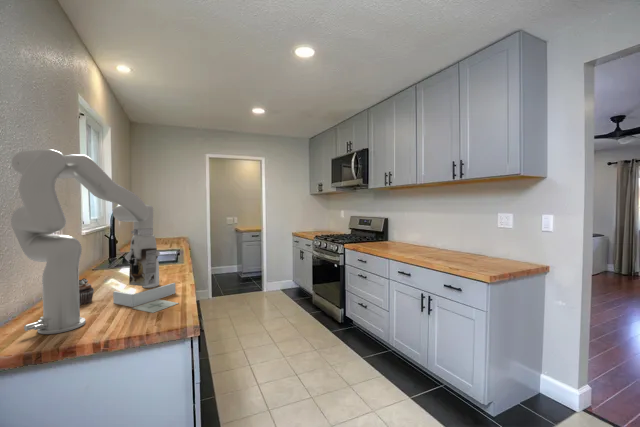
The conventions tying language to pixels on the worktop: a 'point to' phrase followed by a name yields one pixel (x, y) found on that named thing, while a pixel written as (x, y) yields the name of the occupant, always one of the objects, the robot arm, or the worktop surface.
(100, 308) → the worktop surface
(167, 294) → the grey l-shaped block
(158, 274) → the milk bottle
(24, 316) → the worktop surface
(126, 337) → the worktop surface
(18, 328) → the worktop surface
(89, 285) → the cupcake
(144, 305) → the pad
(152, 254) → the coffee box
